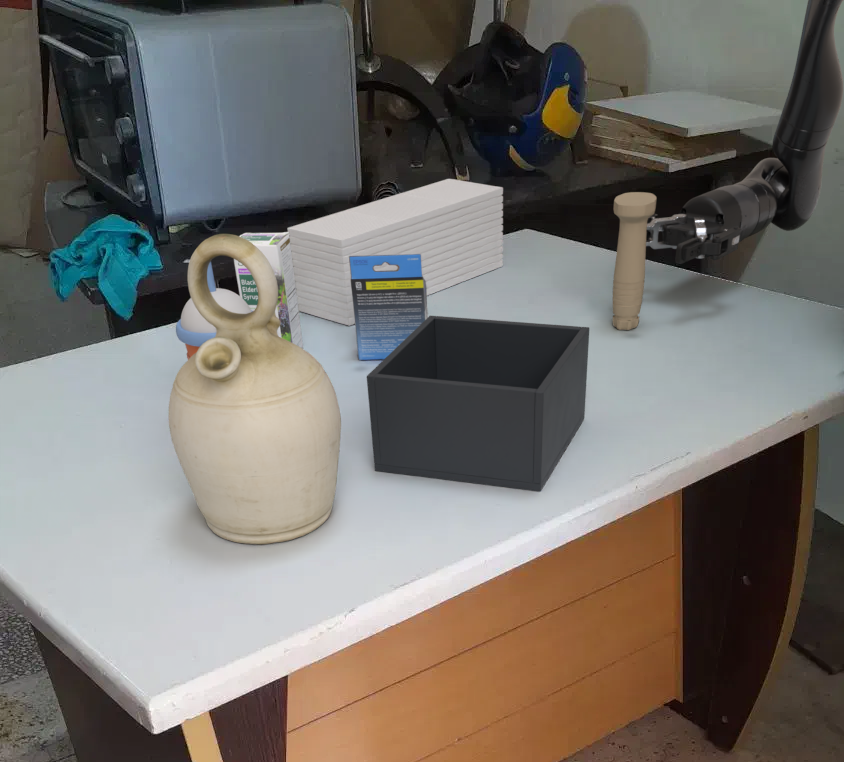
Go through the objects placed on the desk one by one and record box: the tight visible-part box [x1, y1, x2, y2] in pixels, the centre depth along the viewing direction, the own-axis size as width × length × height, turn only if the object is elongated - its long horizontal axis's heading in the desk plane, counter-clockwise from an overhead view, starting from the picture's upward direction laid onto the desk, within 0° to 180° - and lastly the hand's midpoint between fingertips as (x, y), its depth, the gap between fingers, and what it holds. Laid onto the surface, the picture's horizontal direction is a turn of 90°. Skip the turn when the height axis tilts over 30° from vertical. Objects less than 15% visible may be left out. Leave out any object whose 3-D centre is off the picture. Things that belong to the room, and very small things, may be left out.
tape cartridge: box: [349, 254, 429, 361], centre depth 124 cm, size 9×4×12 cm, turn 84°
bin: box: [366, 315, 590, 492], centre depth 104 cm, size 18×18×10 cm
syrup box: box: [233, 231, 304, 349], centre depth 124 cm, size 6×6×14 cm
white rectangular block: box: [287, 178, 504, 327], centre depth 145 cm, size 32×11×11 cm, turn 136°
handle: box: [612, 191, 657, 331], centre depth 126 cm, size 5×6×15 cm
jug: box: [168, 233, 342, 545], centre depth 90 cm, size 15×16×25 cm
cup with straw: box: [175, 261, 253, 360], centre depth 110 cm, size 9×9×18 cm
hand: (649, 249), depth 128 cm, fingers open, 8 cm apart
